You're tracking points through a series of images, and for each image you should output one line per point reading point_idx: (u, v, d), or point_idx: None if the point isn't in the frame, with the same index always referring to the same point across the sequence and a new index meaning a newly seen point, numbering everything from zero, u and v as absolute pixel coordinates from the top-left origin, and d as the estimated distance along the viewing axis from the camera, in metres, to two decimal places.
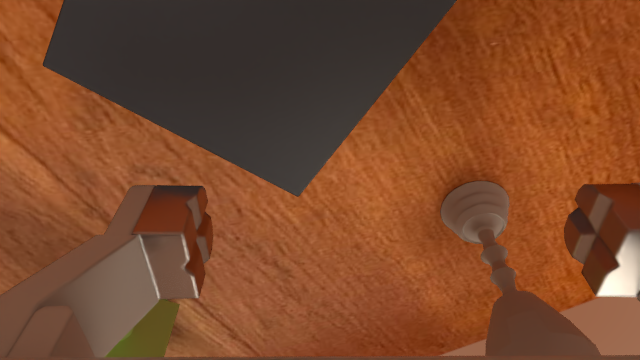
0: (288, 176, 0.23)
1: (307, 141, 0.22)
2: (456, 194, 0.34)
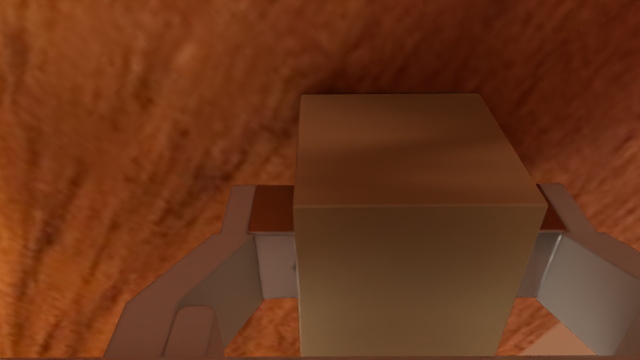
0: None
1: None
2: None
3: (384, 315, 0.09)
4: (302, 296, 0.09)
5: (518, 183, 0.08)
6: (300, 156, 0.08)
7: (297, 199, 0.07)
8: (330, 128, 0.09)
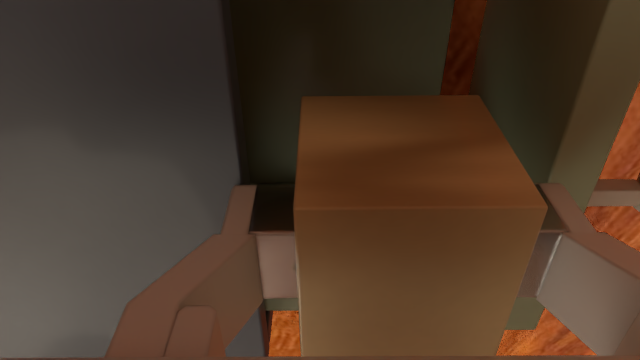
0: None
1: None
2: None
3: (384, 317, 0.09)
4: (302, 298, 0.09)
5: (518, 185, 0.08)
6: (301, 158, 0.08)
7: (298, 201, 0.07)
8: (331, 130, 0.09)
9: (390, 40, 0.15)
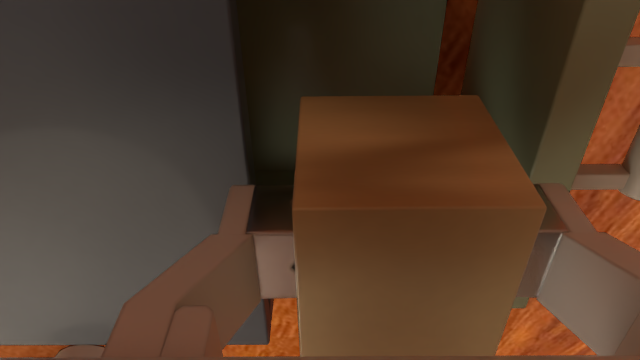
0: None
1: None
2: (88, 351, 0.29)
3: (383, 317, 0.09)
4: (301, 298, 0.09)
5: (517, 185, 0.08)
6: (299, 158, 0.08)
7: (296, 201, 0.07)
8: (330, 130, 0.09)
9: (386, 31, 0.16)
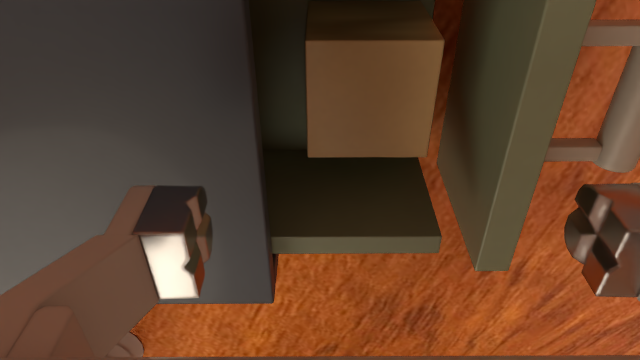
0: None
1: None
2: None
3: (357, 122, 0.15)
4: (309, 107, 0.15)
5: (431, 33, 0.14)
6: (308, 24, 0.15)
7: (307, 38, 0.14)
8: (327, 14, 0.15)
9: None
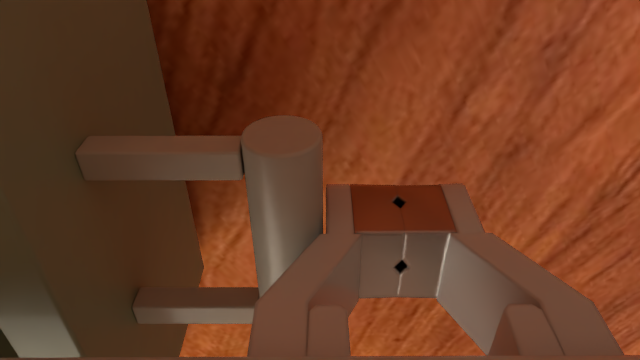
0: None
1: None
2: None
3: None
4: None
5: None
6: None
7: None
8: None
9: None
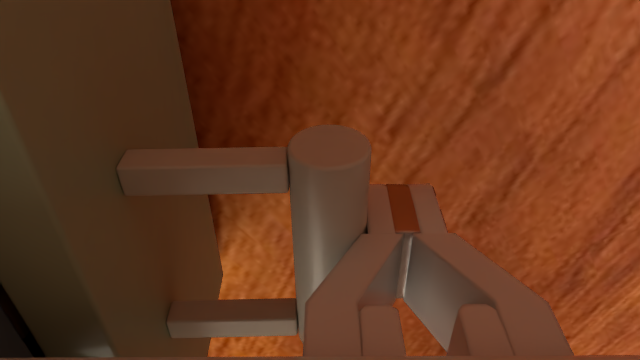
0: None
1: None
2: None
3: None
4: None
5: None
6: None
7: None
8: None
9: None
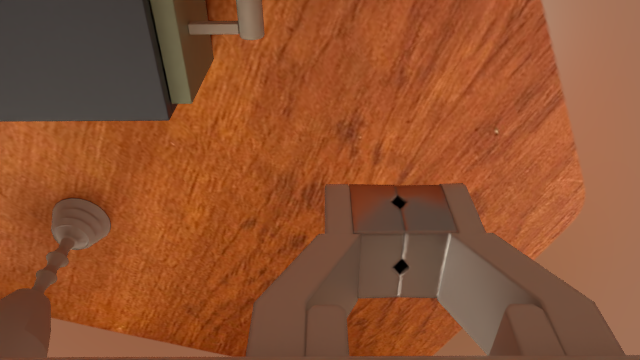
0: None
1: None
2: (76, 202, 0.41)
3: None
4: None
5: None
6: None
7: None
8: None
9: None
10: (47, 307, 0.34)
